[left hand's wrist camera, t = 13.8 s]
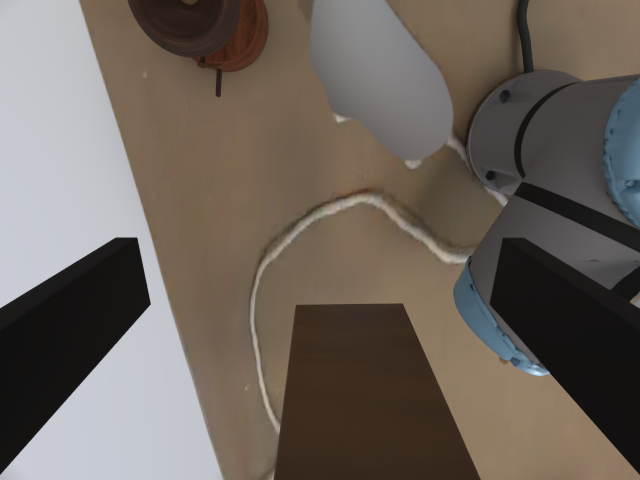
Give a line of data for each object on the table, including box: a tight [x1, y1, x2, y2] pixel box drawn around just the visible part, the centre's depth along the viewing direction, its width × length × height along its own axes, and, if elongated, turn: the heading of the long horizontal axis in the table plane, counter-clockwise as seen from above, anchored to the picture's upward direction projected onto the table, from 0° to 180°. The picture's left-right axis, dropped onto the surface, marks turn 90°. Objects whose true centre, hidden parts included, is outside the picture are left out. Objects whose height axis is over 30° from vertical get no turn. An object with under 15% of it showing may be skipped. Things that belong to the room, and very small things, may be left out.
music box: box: [128, 0, 268, 97], centre depth 31 cm, size 15×11×20 cm
